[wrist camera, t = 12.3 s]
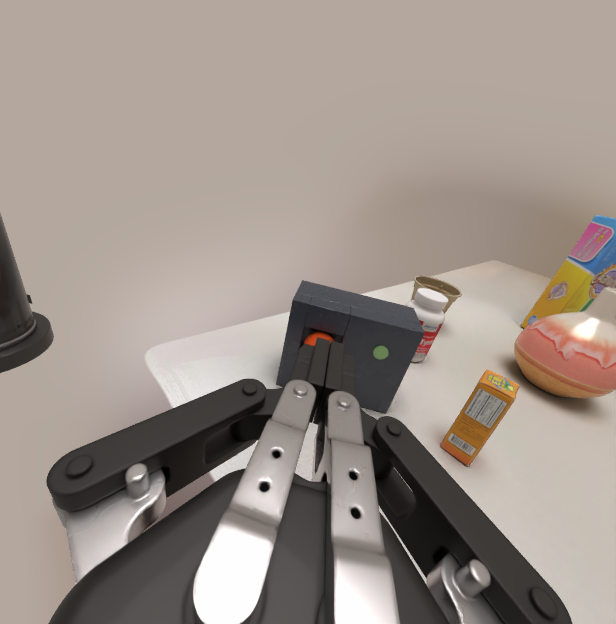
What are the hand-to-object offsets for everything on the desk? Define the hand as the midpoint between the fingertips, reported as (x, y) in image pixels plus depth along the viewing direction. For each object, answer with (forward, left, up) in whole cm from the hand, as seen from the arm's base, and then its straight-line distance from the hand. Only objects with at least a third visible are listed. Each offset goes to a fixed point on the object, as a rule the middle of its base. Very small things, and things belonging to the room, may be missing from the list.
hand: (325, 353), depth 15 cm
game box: (+71, +40, -16) cm, 83 cm away
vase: (+46, +19, -16) cm, 53 cm away
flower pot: (+31, +36, -16) cm, 50 cm away
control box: (+7, +15, -16) cm, 23 cm away
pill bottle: (+22, +24, -16) cm, 37 cm away
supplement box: (+20, +6, -16) cm, 27 cm away
